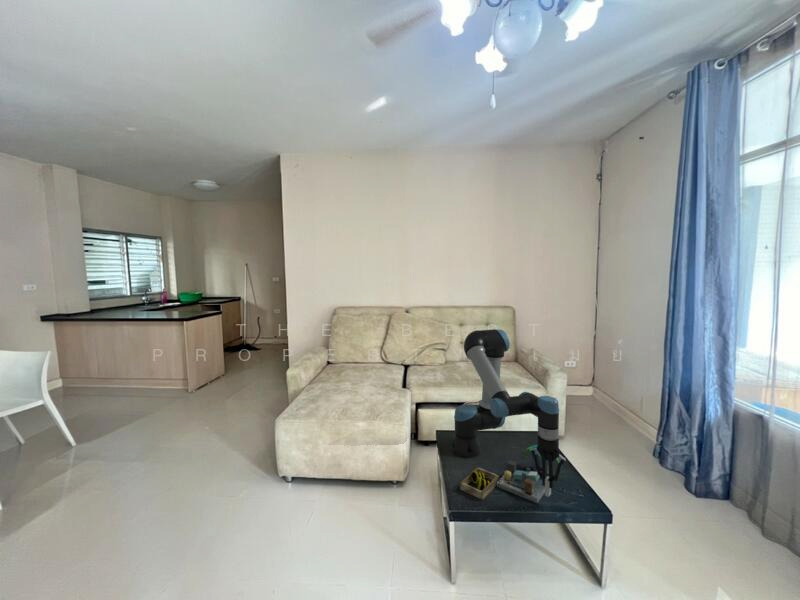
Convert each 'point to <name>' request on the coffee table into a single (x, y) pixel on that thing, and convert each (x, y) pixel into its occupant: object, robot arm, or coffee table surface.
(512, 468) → the dark grey block
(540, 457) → the snack cup
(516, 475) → the block
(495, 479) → the wooden tray
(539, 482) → the panel
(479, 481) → the opera glasses
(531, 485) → the brown rectangular block
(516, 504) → the coffee table surface
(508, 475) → the ochre button
